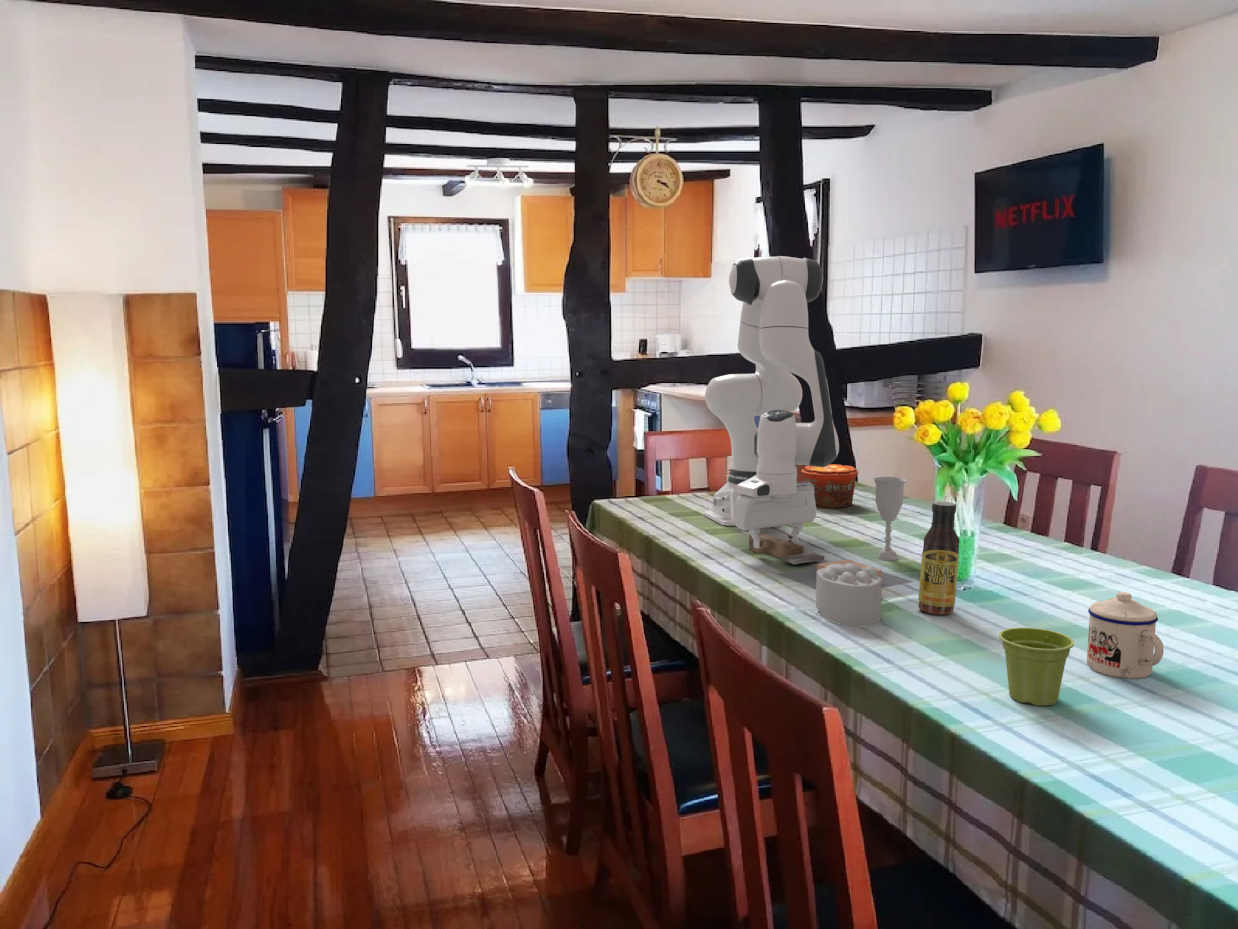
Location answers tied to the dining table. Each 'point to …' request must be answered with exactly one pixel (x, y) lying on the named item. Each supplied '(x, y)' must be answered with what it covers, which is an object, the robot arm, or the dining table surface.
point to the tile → (824, 565)
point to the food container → (831, 484)
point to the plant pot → (1035, 663)
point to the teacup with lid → (1123, 638)
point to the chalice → (889, 508)
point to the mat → (810, 577)
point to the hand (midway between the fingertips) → (775, 545)
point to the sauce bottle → (939, 562)
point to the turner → (784, 550)
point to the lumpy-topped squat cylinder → (849, 594)
